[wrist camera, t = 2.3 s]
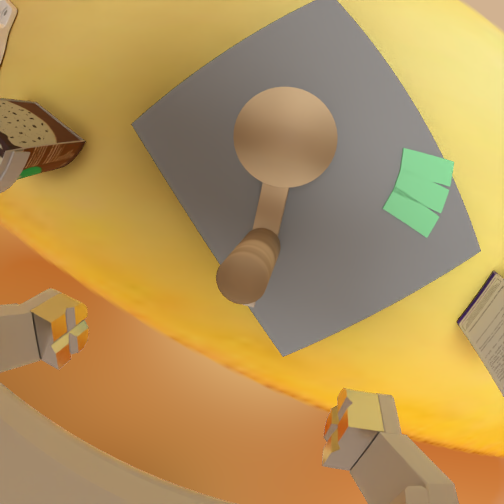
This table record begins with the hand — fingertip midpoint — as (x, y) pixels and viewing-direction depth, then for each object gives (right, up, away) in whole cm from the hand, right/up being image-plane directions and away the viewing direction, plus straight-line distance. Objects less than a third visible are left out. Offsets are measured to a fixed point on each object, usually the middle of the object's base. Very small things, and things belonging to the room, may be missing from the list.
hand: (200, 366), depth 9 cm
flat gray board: (+6, +9, +13) cm, 17 cm away
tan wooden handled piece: (+3, +7, +13) cm, 15 cm away
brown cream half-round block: (-19, +14, +17) cm, 29 cm away
